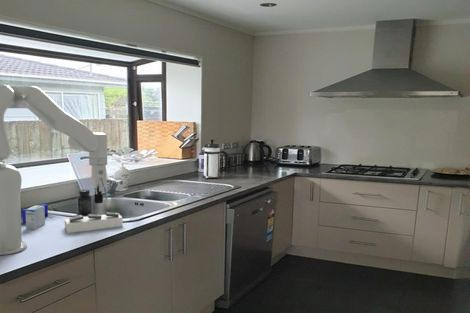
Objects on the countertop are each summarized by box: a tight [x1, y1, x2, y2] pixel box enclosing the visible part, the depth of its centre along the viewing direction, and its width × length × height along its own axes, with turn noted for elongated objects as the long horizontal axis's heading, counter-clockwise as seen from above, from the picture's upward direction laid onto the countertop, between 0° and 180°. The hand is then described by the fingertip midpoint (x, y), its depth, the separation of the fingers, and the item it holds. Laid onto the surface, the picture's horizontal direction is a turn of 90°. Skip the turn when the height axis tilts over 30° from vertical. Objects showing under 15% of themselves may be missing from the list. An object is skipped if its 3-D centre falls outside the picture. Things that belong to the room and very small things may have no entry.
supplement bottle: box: [76, 188, 93, 217], centre depth 193 cm, size 7×7×12 cm
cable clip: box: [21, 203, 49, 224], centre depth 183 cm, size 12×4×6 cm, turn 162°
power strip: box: [64, 214, 123, 234], centre depth 174 cm, size 23×8×4 cm, turn 120°
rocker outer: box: [104, 211, 120, 217], centre depth 176 cm, size 5×3×1 cm, turn 120°
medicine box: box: [25, 204, 46, 230], centre depth 172 cm, size 8×4×9 cm, turn 178°
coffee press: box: [201, 139, 229, 180], centre depth 301 cm, size 17×16×30 cm
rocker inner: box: [68, 215, 84, 222], centre depth 168 cm, size 5×3×1 cm, turn 120°
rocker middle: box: [87, 213, 102, 219], centre depth 172 cm, size 5×3×1 cm, turn 120°
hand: (98, 202), depth 172 cm, fingers closed
